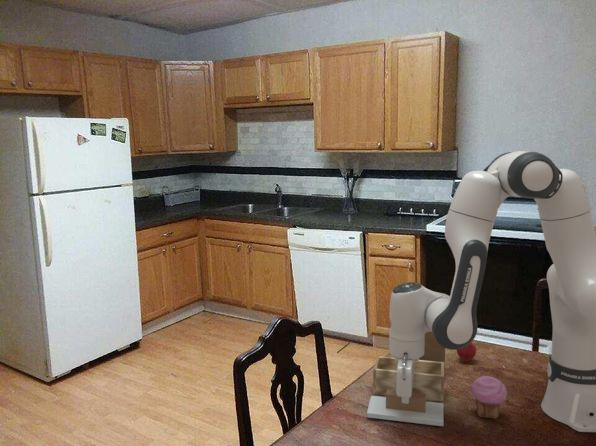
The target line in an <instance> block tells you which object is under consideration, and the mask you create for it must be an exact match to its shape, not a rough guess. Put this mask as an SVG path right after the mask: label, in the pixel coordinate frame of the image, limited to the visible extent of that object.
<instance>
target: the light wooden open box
mask: <svg viewBox="0 0 596 446" xmlns="http://www.w3.org/2000/svg"><path fill="white" fill-rule="evenodd" d="M397 365H398V361H397V360H396V359H395V358H394V356H393V357H391V356H379V355H377V356H376V358H375V362H374V366H373V371H372V372H373V373H372V381H373V382H372V385H373V386H372V390H373V391H372V392H373V393H372V396H380V397H386V391H387V390H395V391H396V378H397ZM412 392H414V393H424V394H426V402H435V403H443V405H444V403H445V402H444V400H445V398H444V397H445V393H444V392H445V378H444V362H436V361H425V360H418V361H417V362H416V363H415V370H414V379H413V388H412Z"/></svg>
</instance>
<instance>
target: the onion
mask: <svg viewBox="0 0 596 446" xmlns="http://www.w3.org/2000/svg"><path fill="white" fill-rule="evenodd" d="M456 353H457V355H458V357H459V358H460V359H461V360H462V361H463V362H469V361H471V360H473V359H474V358H475V357H476V354H477V347H476V346H475V344H474V343H473V341H472V342H471V343H470V344H469V345H467V346H466V347H464V348H461V349H457V350H456Z"/></svg>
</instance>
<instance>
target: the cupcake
mask: <svg viewBox="0 0 596 446" xmlns="http://www.w3.org/2000/svg"><path fill="white" fill-rule="evenodd" d="M469 389H470V390H469V391H470V394H471V396H472V397H473V398H474V399H475V404H476V413H477V414H476V415H478V416H479V417H481V418H486V419H493V420H496V419H498V418H499V414H500V411H501V410H500V408H501V404H502V403H504V401H506V399H507V397H508V394H507V392H508V391H507V388H506V386H505V384H504V383H503V382H501V381H500V380H499V379H497V378H495V377H494V376H489V375H482V376H479V377H478V378H476V379H475V380H473V382H472V383H471V385H470V387H469Z"/></svg>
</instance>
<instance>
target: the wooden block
mask: <svg viewBox="0 0 596 446" xmlns="http://www.w3.org/2000/svg"><path fill="white" fill-rule="evenodd" d="M419 360H425V361H436V362H444V379H446V378H445V377H446V376H445V375H446V374H445V373H446V348H444V347H443V346H441V345H440V344H439V343H438V342H437V340H436V338H435V337H434V335H433V333H432V332H426V333H425V350H424V355H423V356H422V357H420V358H419Z"/></svg>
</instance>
